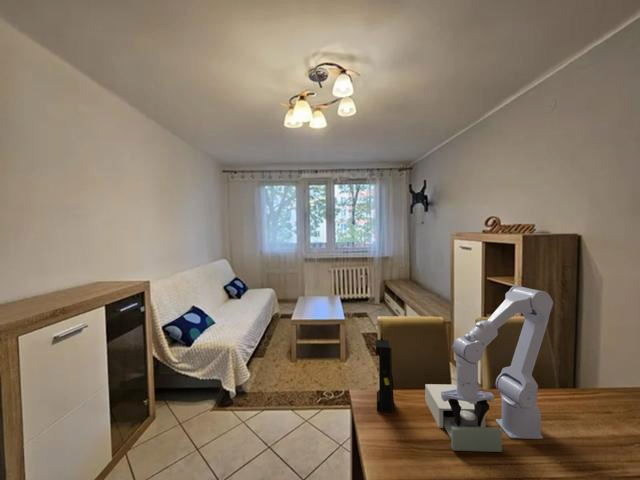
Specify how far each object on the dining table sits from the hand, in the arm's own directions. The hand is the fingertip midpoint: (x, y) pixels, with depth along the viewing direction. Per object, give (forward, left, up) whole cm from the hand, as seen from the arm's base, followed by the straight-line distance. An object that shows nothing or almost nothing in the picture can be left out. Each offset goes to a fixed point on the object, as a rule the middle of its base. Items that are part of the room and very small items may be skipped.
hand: (467, 423), depth 84 cm
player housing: (0, -10, -4) cm, 11 cm away
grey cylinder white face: (0, 0, -1) cm, 1 cm away
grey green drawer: (0, -1, -4) cm, 4 cm away
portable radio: (+22, -13, -4) cm, 26 cm away
